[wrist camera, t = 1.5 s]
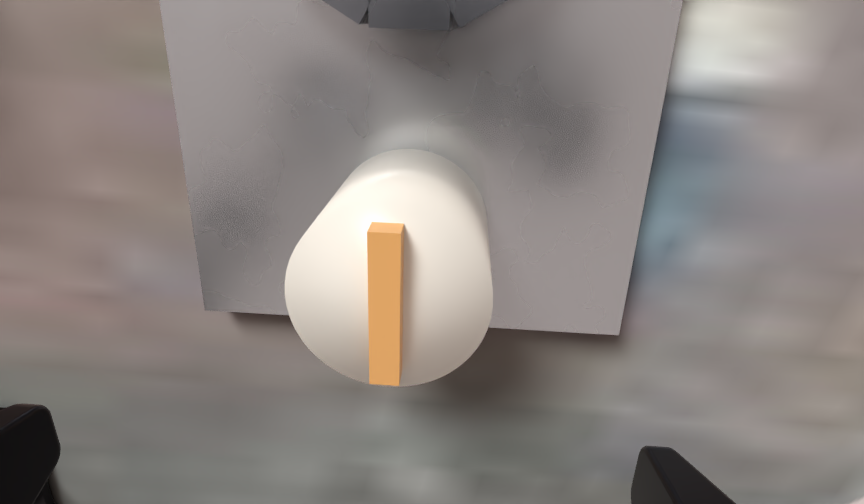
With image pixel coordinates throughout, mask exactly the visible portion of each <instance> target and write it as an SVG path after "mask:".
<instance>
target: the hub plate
mask: <svg viewBox="0 0 864 504" xmlns="http://www.w3.org/2000/svg"><path fill="white" fill-rule="evenodd" d="M159 2H160V9H161V15H162V22H163V29H164V36H165V42H166V49H167V56H168V63H169V70H170V76H171V83H172V90H173V97H174V103H175V110H176V117H177V124H178V130H179V137H180V144H181V151H182V157H183V164H184V171H185V178H186V184H187V191H188V198H189V205H190V211H191V218H192V225H193V232H194V239H195V245H196V252H197V259H198V266H199V272H200V279H201V286H202V293H203V299H204V306H205V310H210V311H227V312H243V313H260V314H276V315H289V313H288V310H287V306H286V300H285V276H286V270H287V266H288V263H289V259H290V257H291V255H292V253H293V251H294V249H295V247H296V245H297V244H298V242H299V241H300V239H301V238H302V236H303V235H304V234H305V232H306V231H307V230H308V229H309V227H310V226H311V225H312V223H313V222H314V221H315V219H316V218H317V217H318V215H319V214H320V213H321V212H322V210H323V209H324V208H325V206H326V205H327V204H328V202H329V201H330V200H331V198H332V197H333V196H334V195H335V193H336V192H337V191H338V189H339V188H340V187H341V185H342V184H343V183H344V182H345V180H346V179H347V178H348V176H349V175H350V174H351V173H352V172H353V171H354V170H355V169H356V168H357V167H358V166H359V165H361V164H362V163H363V162H365V161H366V160H368V159H370V158H371V157H374V156H376V155H378V154H380V153H384V152H387V151H391V150H397V149H418V150H424V151H428V152H432V153H435V154H437V155H440V156H442V157H444V158H446V159H448V160H450V161H452V162H453V163H454V164H456V165H457V166H458V167H460V168H461V169H462V170H463V171H464V172H465V173H466V174H467V175H468V176H469V177H470V178H471V180H472V181H473V182H474V184H475V185H476V187H477V189H478V190H479V192H480V194H481V197H482V199H483V202H484V205H485V209H486V215H487V225H488V237H489V250H490V262H491V275H492V288H493V309H492V316H491V320H490V324H489V327H490V328H507V329H523V330H540V331H556V332H573V333H589V334H606V335H619V332H620V327H621V321H622V316H623V311H624V306H625V300H626V295H627V290H628V285H629V280H630V274H631V269H632V264H633V259H634V253H635V248H636V243H637V238H638V233H639V227H640V222H641V217H642V212H643V206H644V201H645V196H646V191H647V186H648V180H649V175H650V170H651V165H652V159H653V154H654V149H655V144H656V139H657V133H658V128H659V123H660V118H661V112H662V107H663V102H664V97H665V92H666V86H667V81H668V76H669V71H670V65H671V60H672V55H673V50H674V45H675V39H676V34H677V29H678V24H679V18H680V13H681V8H682V3H683V0H159Z"/></svg>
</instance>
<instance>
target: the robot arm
mask: <svg viewBox="0 0 864 504" xmlns="http://www.w3.org/2000/svg"><path fill="white" fill-rule="evenodd" d="M59 456H60V443H59V440H58V436H57V433H56V430H55V426H54V423H53V419H52V416H51V413H50V411H49V410H48V409H47V408H46V407H45V406H43V405H35V404H15V405H12V406H10V407H7V408H0V504H55V503H54V500H53V497H52V494H51V491H50V488H49V485H48V482H47V480H48V478H49V476H50V474H51V473H52V471H53V469H54V468H55V466H56V464H57V462H58V459H59ZM631 503H632V504H736V503H735V502H733V501H732V500H731V499H730V498H729V497H728V496H727V495H725V494H724V493H723V492H722V491H721V490H720V489H719V488H717V487H716V486H715V485H714V484H713V483H712V482H711V481H709V480H708V479H707V478H706V477H705V476H704V475H703V474H701V473H700V472H699V471H698V470H697V469H696V468H695V467H693V466H692V465H691V464H690V463H689V462H688V461H687V460H685V459H684V458H683V457H682V456H681V455H680V454H679V453H677V452H676V451H675V450H673V449H672V448H669V447H658V446H645V447H643V448H642V449H641V451H640V453H639V456H638V461H637V465H636V470H635V474H634V478H633V483H632V487H631Z"/></svg>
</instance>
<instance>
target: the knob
mask: <svg viewBox="0 0 864 504" xmlns="http://www.w3.org/2000/svg"><path fill="white" fill-rule="evenodd" d="M285 300H286V306H287V310H288V313H289V316H290V319H291V321H292V324H293V326H294V328H295V330H296V332H297V333H298V335H299V336H300V338H301V340H302V341H303V342H304V343H305V345H306V346H307V347H308V348H309V350H310V351H311V352H312V353H313V354H314V355H315V356H316V357H317V358H319V359H320V360H321V361H322V362H324V363H325V364H326V365H328V366H329V367H331V368H332V369H334V370H335V371H337V372H339V373H341V374H343V375H345V376H347V377H349V378H351V379H354V380H357V381H360V382H363V383H367V384H372V385H377V386H385V387H406V386H414V385H419V384H424V383H427V382H430V381H433V380H436V379H438V378H441V377H443V376H445V375H447V374H449V373H450V372H452V371H453V370H455V369H456V368H458V367H459V366H460V365H462V364H463V363H464V362H465V361H466V360H468V358H469V357H470V356H471V355H472V354H473V353H474V352H475V351H476V349H477V348H478V346H479V345H480V343H481V342H482V340H483V338H484V336H485V334H486V332H487V330H488V327H489V324H490V320H491V316H492V309H493V288H492V275H491V262H490V250H489V237H488V225H487V215H486V209H485V205H484V202H483V199H482V197H481V194H480V192H479V190H478V189H477V187H476V185H475V184H474V182H473V181H472V180H471V178H470V177H469V176H468V175H467V174H466V173H465V172H464V171H463V170H462V169H461V168H460V167H458V166H457V165H456V164H454V163H453V162H452V161H450V160H448V159H446V158H444V157H442V156H440V155H437V154H435V153H432V152H428V151H424V150H418V149H397V150H391V151H387V152H384V153H380V154H378V155H376V156H374V157H371V158H370V159H368V160H366V161H365V162H363V163H362V164H361V165H359V166H358V167H357V168H356V169H355V170H354V171H353V172H352V173H351V174H350V175H349V176H348V178H347V179H346V180H345V182H344V183H343V184H342V185H341V187H340V188H339V189H338V191H337V192H336V193H335V195H334V196H333V197H332V198H331V200H330V201H329V202H328V204H327V205H326V206H325V208H324V209H323V210H322V212H321V213H320V214H319V215H318V217H317V218H316V219H315V221H314V222H313V223H312V225H311V226H310V227H309V229H308V230H307V231H306V232H305V234H304V235H303V236H302V238H301V239H300V241H299V242H298V244H297V245H296V247H295V249H294V251H293V253H292V255H291V257H290V259H289V263H288V266H287V270H286V276H285Z"/></svg>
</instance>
